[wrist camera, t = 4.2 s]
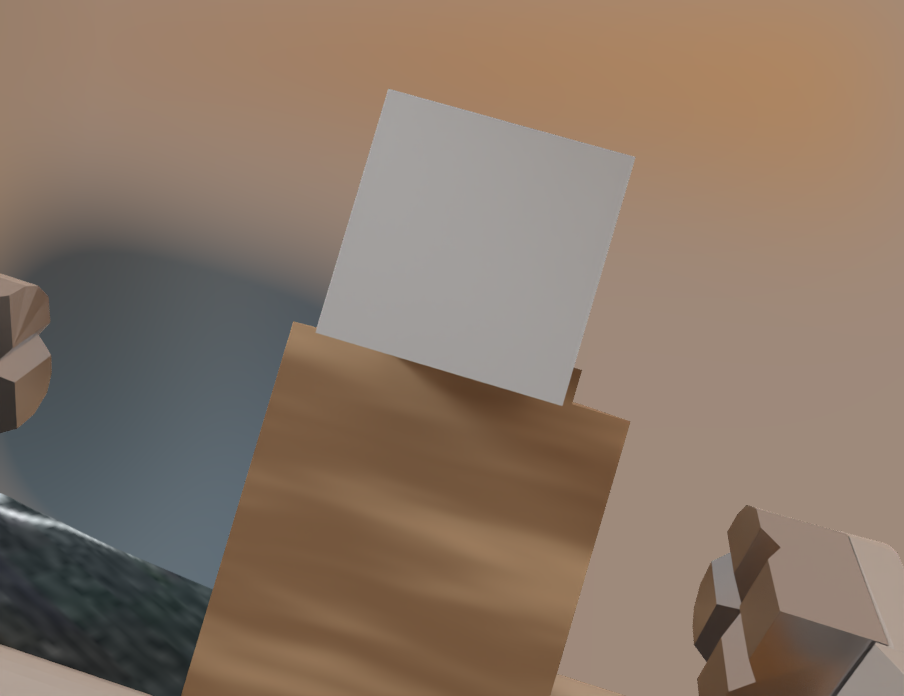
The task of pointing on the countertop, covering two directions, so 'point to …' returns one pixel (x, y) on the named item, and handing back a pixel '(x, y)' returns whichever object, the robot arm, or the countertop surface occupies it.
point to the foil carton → (475, 246)
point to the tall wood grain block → (406, 534)
